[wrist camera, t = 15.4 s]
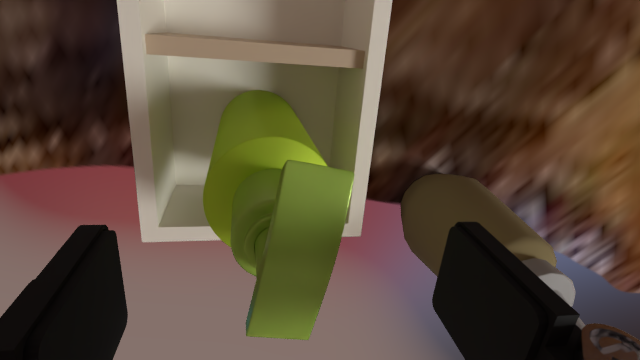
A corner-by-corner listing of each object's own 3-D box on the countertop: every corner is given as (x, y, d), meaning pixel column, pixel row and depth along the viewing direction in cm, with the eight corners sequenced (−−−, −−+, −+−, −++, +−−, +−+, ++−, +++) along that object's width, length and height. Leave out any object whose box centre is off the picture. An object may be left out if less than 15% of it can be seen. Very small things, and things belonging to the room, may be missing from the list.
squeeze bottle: (370, 202, 34) (490, 368, 17) (441, 142, 33) (637, 257, 17) (419, 255, 37) (558, 436, 21) (484, 201, 36) (684, 346, 20)
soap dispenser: (309, 86, 28) (431, 192, 10) (288, 171, 30) (357, 386, 12) (229, 66, 27) (201, 149, 8) (213, 158, 29) (163, 381, 11)
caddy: (135, -197, 21) (84, -302, 15) (371, -152, 24) (422, -222, 17) (165, 193, 30) (142, 242, 23) (336, 192, 33) (360, 236, 26)
